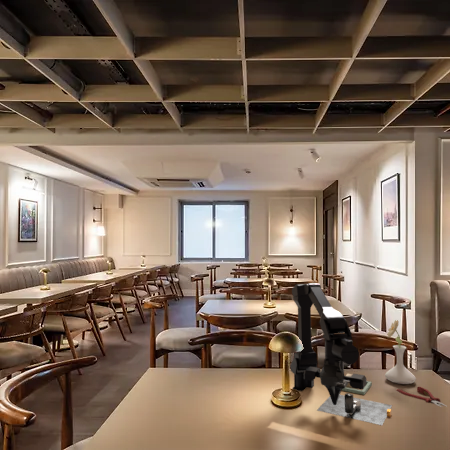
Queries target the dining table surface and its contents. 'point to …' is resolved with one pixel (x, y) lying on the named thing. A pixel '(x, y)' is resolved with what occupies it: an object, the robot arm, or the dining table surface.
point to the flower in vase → (399, 362)
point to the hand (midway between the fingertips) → (334, 404)
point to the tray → (359, 390)
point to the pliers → (425, 392)
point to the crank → (351, 403)
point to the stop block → (349, 383)
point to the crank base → (359, 410)
